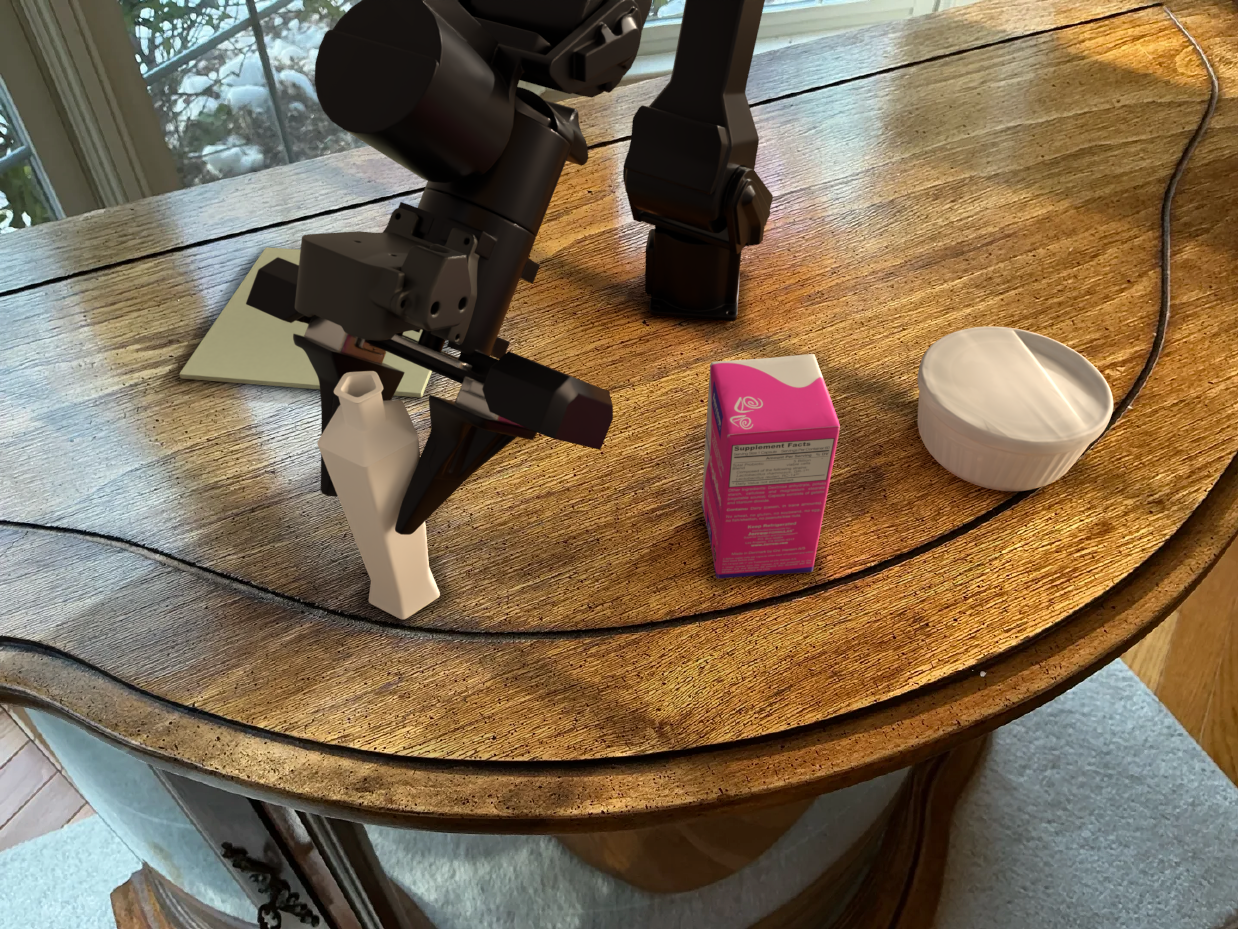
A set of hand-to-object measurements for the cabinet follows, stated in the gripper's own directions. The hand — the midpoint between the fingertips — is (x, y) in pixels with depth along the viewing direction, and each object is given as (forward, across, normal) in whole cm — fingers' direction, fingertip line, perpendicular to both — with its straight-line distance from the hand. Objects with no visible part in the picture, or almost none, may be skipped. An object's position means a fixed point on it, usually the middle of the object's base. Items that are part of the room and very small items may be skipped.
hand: (365, 513), depth 48 cm
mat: (-7, -21, +18) cm, 29 cm away
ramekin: (-16, +24, +27) cm, 40 cm away
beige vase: (+4, 0, +6) cm, 8 cm away
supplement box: (-5, +15, +16) cm, 22 cm away
